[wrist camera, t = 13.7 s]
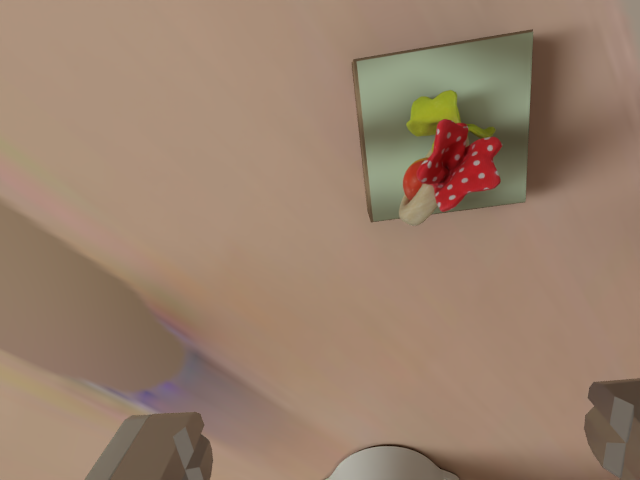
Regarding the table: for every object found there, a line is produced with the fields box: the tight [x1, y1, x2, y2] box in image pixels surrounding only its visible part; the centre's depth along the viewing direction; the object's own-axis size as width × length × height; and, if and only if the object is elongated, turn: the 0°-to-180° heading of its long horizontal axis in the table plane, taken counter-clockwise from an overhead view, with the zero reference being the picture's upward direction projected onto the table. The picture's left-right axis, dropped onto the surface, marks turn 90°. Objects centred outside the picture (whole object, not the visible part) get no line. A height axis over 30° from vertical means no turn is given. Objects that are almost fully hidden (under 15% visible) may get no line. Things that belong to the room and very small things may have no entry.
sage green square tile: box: [352, 29, 533, 222], centre depth 31 cm, size 13×13×4 cm
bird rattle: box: [399, 90, 502, 226], centre depth 25 cm, size 6×11×9 cm
